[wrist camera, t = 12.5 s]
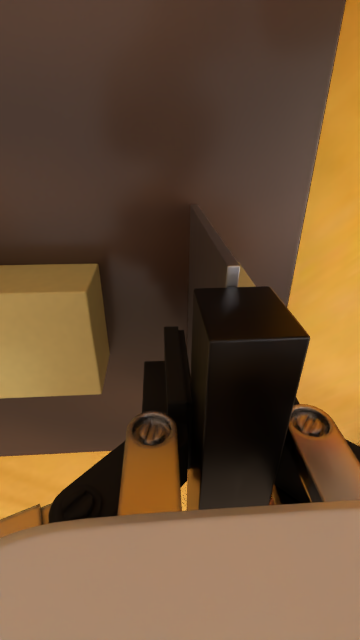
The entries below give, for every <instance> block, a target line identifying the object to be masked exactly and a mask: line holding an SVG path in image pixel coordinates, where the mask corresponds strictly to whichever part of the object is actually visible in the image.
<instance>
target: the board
mask: <svg viewBox="0 0 360 640" xmlns="http://www.w3.org/2000/svg"><path fill="white" fill-rule="evenodd" d="M345 3H346V0H0V265H47V264H98V265H99V273H100V281H101V289H102V297H103V305H104V312H105V320H106V328H107V336H108V344H109V352H110V356H109V361H108V365H107V370H106V375H105V380H104V385H103V390H102V394H96V395H71V396H47V397H23V398H0V456H19V455H38V454H58V453H77V452H97V451H113V450H114V449H115V448H116V447H118V446H119V445H120V444H121V443H123V442H124V441H125V440H126V431H127V427H128V424H129V423H130V421H131V420H132V419H133V418H134V417H135V416H137V415H138V414H140V413H142V400H143V378H144V362H145V361H165V360H164V327H172V326H178V329H179V330H184V334H185V341H186V348H187V338H188V295H189V251H190V207H191V205H198V206H199V208H200V209H201V211H202V212H203V213H204V215H205V216H206V218H207V219H208V221H209V222H210V224H211V225H212V226H213V228H214V229H215V231H216V232H217V234H218V235H219V236H220V238H221V239H222V241H223V242H224V244H225V245H226V246H227V248H228V249H229V251H230V252H231V254H232V255H233V257H234V258H235V259H236V261H237V262H239V263H240V265H241V266H242V268H243V269H244V270H245V272H246V273H247V275H248V276H249V277H250V279H251V280H252V282H253V283H254V284H255V286H256V287H260V286H269V287H271V288H272V290H273V291H274V292H275V293H276V295H277V296H278V297H279V298H280V300H281V301H282V302H283V303H284V305H285V306H286V307H287V305H288V300H289V295H290V290H291V285H292V279H293V274H294V269H295V264H296V259H297V253H298V248H299V243H300V238H301V232H302V227H303V222H304V217H305V212H306V206H307V201H308V196H309V191H310V186H311V180H312V175H313V170H314V165H315V160H316V154H317V149H318V144H319V139H320V134H321V128H322V123H323V118H324V113H325V107H326V102H327V97H328V92H329V87H330V81H331V76H332V71H333V66H334V61H335V55H336V50H337V45H338V40H339V35H340V29H341V24H342V19H343V14H344V9H345Z"/></svg>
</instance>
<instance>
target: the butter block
mask: <svg viewBox="0 0 360 640" xmlns="http://www.w3.org/2000/svg"><path fill="white" fill-rule="evenodd" d="M109 356H110V352H109V344H108V336H107V328H106V320H105V312H104V305H103V297H102V289H101V281H100V273H99V265H98V264H47V265H0V398H23V397H47V396H71V395H96V394H102V390H103V385H104V380H105V375H106V370H107V365H108V361H109Z"/></svg>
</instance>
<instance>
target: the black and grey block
mask: <svg viewBox="0 0 360 640" xmlns="http://www.w3.org/2000/svg"><path fill="white" fill-rule="evenodd" d="M239 273H240V265H239V264H238V262H237V261H236V259H235V258H234V257H233V255H232V254H231V252H230V251H229V249H228V248H227V246H226V245H225V244H224V242H223V241H222V239H221V238H220V236H219V235H218V234H217V232H216V231H215V229H214V228H213V226H212V225H211V224H210V222H209V221H208V219H207V218H206V216H205V215H204V213H203V212H202V211H201V209H200V208H199V206H198V205H191V207H190V251H189V295H188V338H187V355H188V361H189V368H190V375H191V386H190V390H191V396H192V431H191V459H190V469H188V482H187V511H191V510H206V509H221V508H236V507H252V506H268V505H269V502H270V498H271V494H272V490H273V486H274V482H275V478H276V474H277V470H278V466H279V462H280V458H281V454H282V450H283V446H284V442H285V438H286V434H287V430H288V426H289V422H290V418H291V413H292V409H293V405H294V401H295V397H296V393H297V389H298V385H299V381H300V377H301V373H302V369H303V365H304V361H305V357H306V353H307V349H308V345H309V341H310V336H309V335H308V334H307V332H306V331H305V330H304V329H303V327H302V326H301V325H300V324H299V322H298V321H297V320H296V318H295V317H294V316H293V315H292V313H291V312H290V311H289V310H288V308H287V307H286V306H285V305H284V303H283V302H282V301H281V300H280V298H279V297H278V296H277V295H276V293H275V292H274V291H273V290H272V288H271V287H269V286H260V287H238V282H239Z"/></svg>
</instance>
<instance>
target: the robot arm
mask: <svg viewBox="0 0 360 640" xmlns="http://www.w3.org/2000/svg"><path fill="white" fill-rule="evenodd" d="M164 360H165V361H145V362H144V378H143V400H142V413H140V414H138V415H137V416H135V417H134V418H133V419H132V420H131V421H130V423H129V424H128V427H127V431H126V440H125V441H124V442H123V443H121V444H120V445H119V446H118V447H116V448H115V449H114V450H113V451H111V452H110V453H109V454H108V455H106V456H105V457H104V458H103V459H101V460H100V461H99V462H98V463H96V464H95V465H94V466H93V467H91V468H90V469H89V470H88V471H86V472H85V473H84V474H83V475H81V476H80V477H79V478H78V479H76V480H75V481H74V482H73V483H71V484H70V485H69V486H68V487H66V488H65V489H64V490H63V491H62V492H61V493H60V494H59V495H58V496H57V497H56V498H55V500H54V501H53V503H51V504H49V505H46V506H44V507H40V504H38V505H36V506H33V507H31V508H28V509H26V510H23V511H21V512H18V513H16V514H13V515H11V516H8V517H6V518H3V519H1V520H0V640H360V447H359V446H357V445H355V444H353V443H351V442H349V441H348V440H346V439H345V438H344V437H343V435H342V434H341V432H340V431H339V429H338V427H337V426H336V424H335V423H334V421H333V420H332V418H331V417H330V416H329V415H328V414H327V413H325V412H324V411H323V410H321V409H319V408H317V407H315V406H311V405H306V404H299V402H298V400H297V398H296V397H295V401H294V405H293V409H292V413H291V418H290V422H289V426H288V430H287V434H286V438H285V442H284V446H283V450H282V454H281V458H280V462H279V466H278V470H277V474H276V478H275V482H274V486H273V490H272V497H273V500H274V503H275V505H268V506H252V507H236V508H221V509H206V510H191V511H182V506H181V490H180V488H181V487H182V486H183V484H184V483H185V482H186V481H187V472H188V469H190V459H191V431H192V396H191V390H190V386H191V375H190V368H189V361H188V355H187V348H186V341H185V334H184V330H179V329H178V326H172V327H164Z"/></svg>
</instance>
